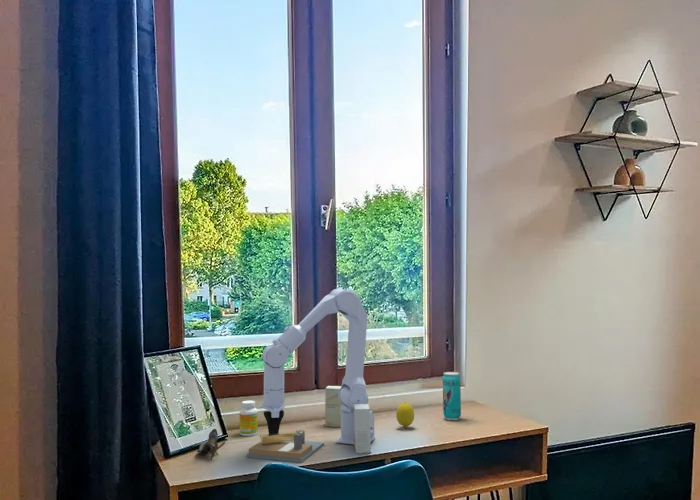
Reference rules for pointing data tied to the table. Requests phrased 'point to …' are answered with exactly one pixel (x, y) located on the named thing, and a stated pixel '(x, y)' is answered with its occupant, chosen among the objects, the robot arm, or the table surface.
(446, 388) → the beverage can
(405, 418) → the lemon
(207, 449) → the eagle figurine
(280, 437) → the swing bar
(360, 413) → the skincare box
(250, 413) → the supplement bottle
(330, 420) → the skincare box
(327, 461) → the table surface
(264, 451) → the latch board
